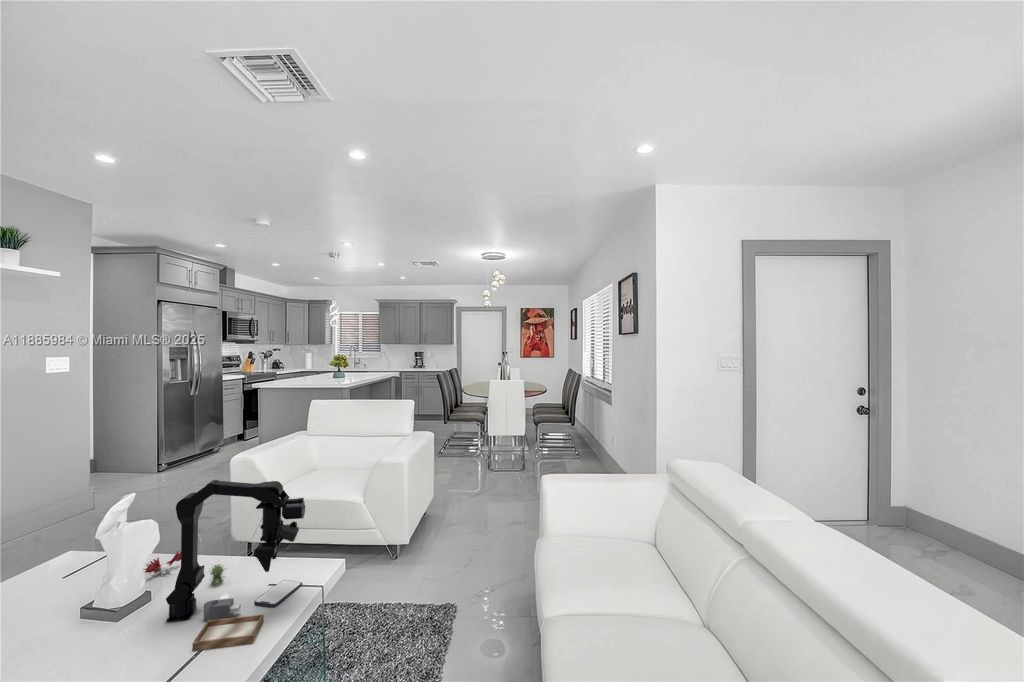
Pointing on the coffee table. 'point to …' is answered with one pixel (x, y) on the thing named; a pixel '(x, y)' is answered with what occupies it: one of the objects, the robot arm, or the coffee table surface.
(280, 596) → the phone case
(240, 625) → the tray
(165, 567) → the figurine
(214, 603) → the plug
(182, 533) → the robot arm
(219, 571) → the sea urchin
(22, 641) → the coffee table surface
